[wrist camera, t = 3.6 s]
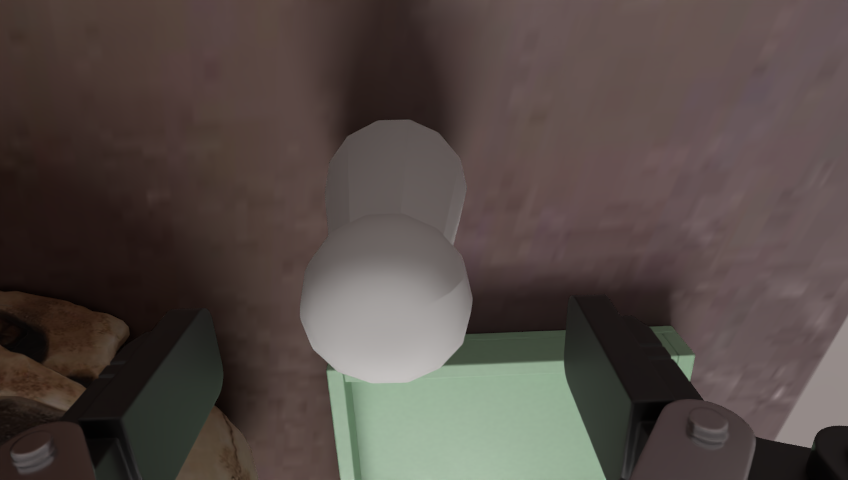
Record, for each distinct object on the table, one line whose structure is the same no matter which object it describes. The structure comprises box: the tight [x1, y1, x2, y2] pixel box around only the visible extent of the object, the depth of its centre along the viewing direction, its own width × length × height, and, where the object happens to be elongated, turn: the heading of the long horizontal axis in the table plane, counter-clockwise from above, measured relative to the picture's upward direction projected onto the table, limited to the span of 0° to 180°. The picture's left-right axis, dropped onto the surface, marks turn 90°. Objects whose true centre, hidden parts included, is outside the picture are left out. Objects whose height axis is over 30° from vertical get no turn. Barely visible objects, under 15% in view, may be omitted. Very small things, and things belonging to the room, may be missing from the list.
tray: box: [326, 326, 695, 480], centre depth 30 cm, size 18×15×3 cm
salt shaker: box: [300, 119, 473, 383], centre depth 18 cm, size 6×6×13 cm
